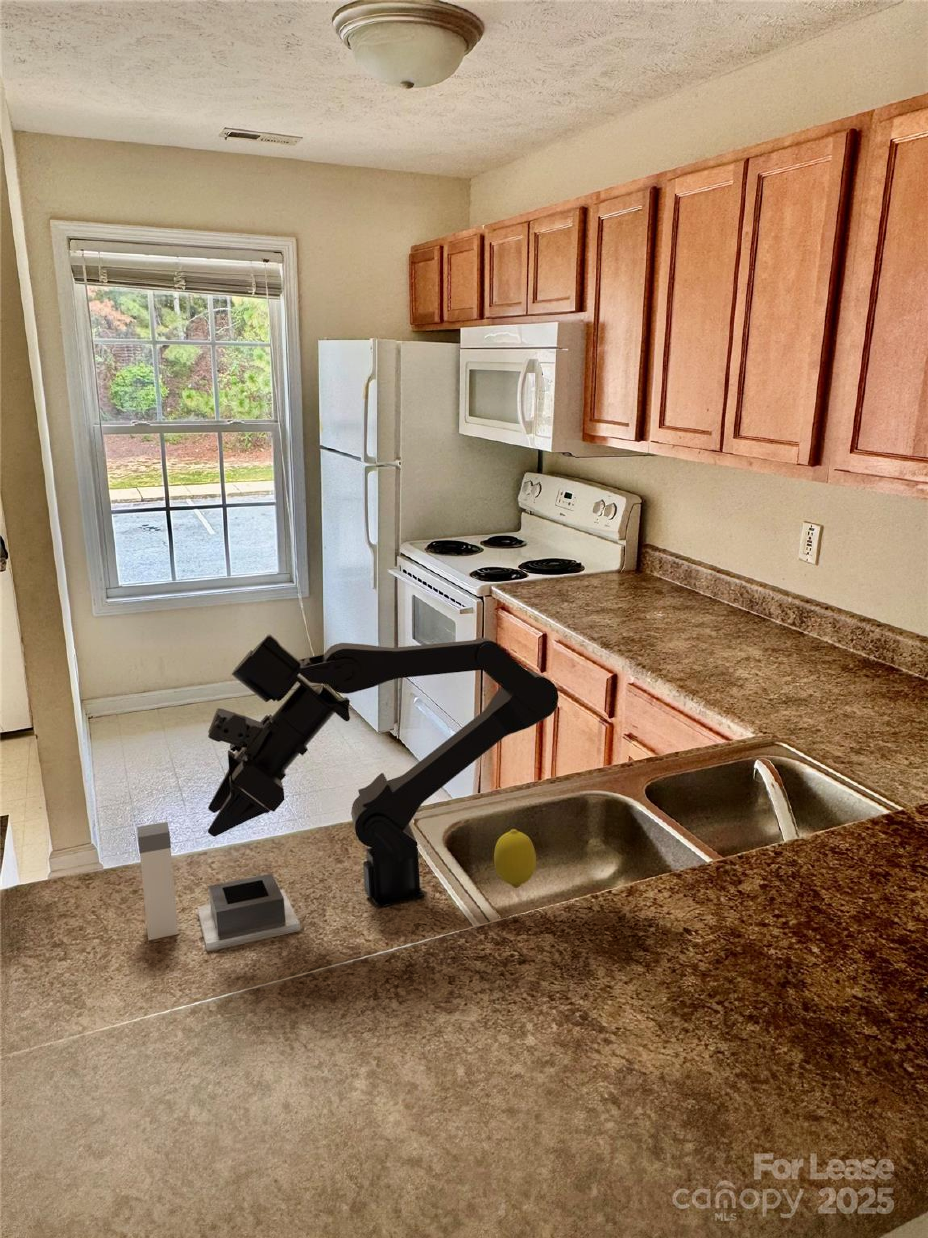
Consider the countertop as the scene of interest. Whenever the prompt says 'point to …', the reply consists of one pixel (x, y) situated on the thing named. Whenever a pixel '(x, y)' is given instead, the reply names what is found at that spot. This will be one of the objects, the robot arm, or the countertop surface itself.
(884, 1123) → the countertop surface
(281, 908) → the socket plate
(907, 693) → the countertop surface
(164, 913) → the plug block
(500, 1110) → the countertop surface
